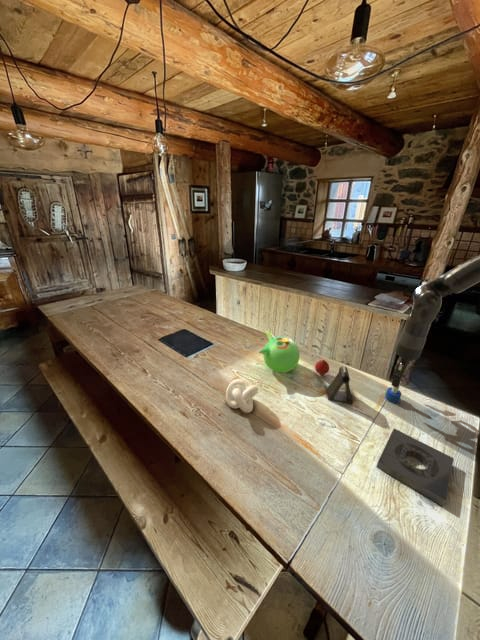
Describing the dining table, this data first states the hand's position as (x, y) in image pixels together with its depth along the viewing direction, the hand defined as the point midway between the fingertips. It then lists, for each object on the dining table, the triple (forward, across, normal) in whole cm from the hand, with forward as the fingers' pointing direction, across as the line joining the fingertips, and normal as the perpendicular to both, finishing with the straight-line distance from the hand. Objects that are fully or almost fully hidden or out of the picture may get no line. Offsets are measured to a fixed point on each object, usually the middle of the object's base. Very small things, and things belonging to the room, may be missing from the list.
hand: (397, 380), depth 99 cm
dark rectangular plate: (+9, -26, -13) cm, 30 cm away
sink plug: (+9, 0, 0) cm, 9 cm away
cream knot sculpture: (+9, -42, +41) cm, 59 cm away
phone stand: (+9, -13, +16) cm, 22 cm away
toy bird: (+9, -13, +44) cm, 46 cm away
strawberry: (+9, -5, +27) cm, 29 cm away
